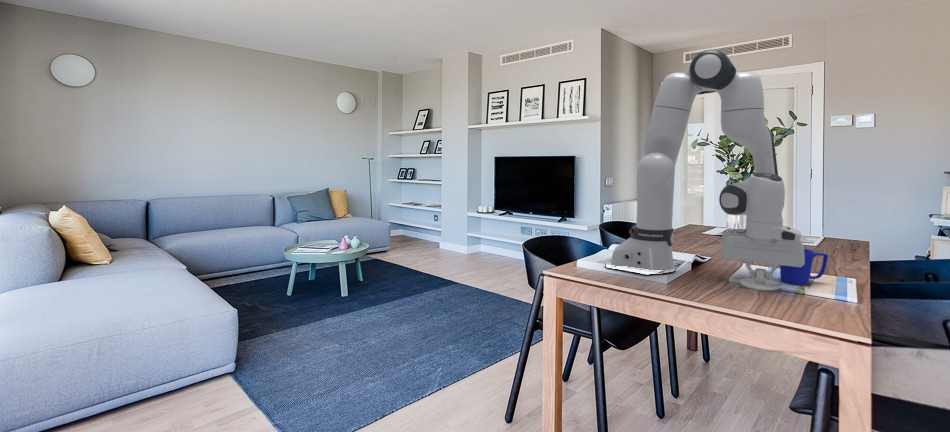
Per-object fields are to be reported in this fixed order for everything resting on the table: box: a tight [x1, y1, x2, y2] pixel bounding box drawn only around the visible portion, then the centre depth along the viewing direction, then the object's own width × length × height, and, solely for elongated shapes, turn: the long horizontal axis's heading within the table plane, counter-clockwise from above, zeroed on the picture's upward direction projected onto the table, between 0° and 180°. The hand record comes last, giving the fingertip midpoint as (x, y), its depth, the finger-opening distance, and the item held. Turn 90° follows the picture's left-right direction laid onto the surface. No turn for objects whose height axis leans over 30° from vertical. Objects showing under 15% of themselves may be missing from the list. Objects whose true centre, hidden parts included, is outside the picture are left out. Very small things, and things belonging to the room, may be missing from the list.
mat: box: [738, 283, 782, 294], centre depth 133 cm, size 10×10×1 cm
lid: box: [739, 267, 782, 292], centre depth 133 cm, size 10×10×5 cm
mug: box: [779, 248, 829, 286], centre depth 135 cm, size 8×12×10 cm
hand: (760, 277), depth 133 cm, fingers closed on lid, 3 cm apart
